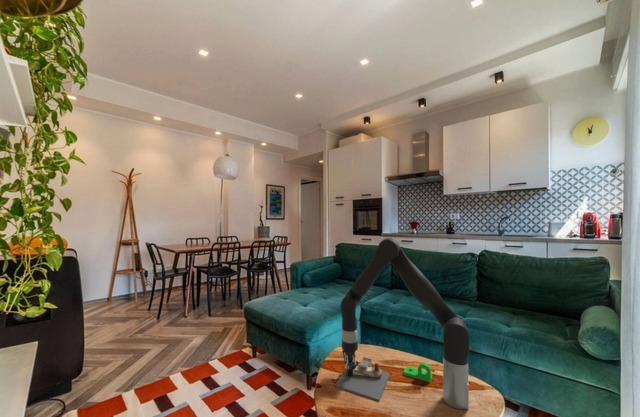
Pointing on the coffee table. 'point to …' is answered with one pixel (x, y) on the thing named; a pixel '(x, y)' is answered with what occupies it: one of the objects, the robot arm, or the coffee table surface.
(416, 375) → the mechanical part
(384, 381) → the base plate
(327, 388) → the coffee table surface
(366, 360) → the keeper
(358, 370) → the latch bar
